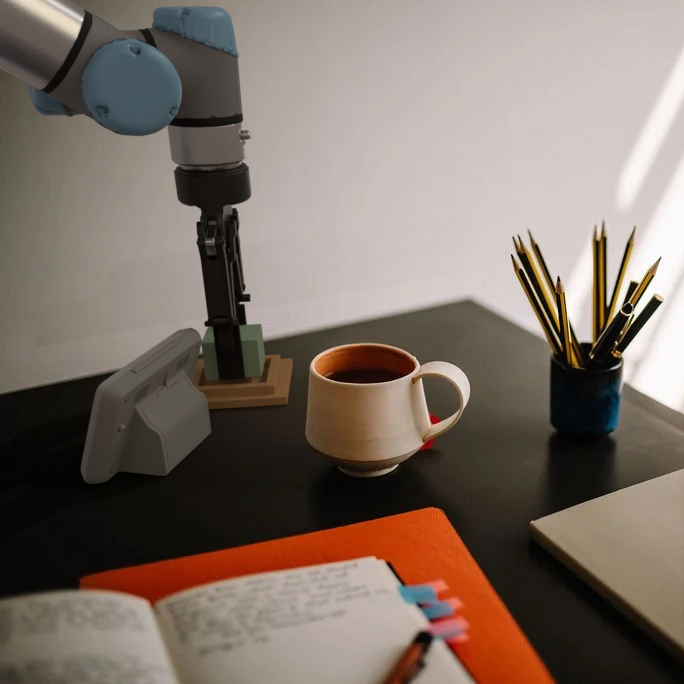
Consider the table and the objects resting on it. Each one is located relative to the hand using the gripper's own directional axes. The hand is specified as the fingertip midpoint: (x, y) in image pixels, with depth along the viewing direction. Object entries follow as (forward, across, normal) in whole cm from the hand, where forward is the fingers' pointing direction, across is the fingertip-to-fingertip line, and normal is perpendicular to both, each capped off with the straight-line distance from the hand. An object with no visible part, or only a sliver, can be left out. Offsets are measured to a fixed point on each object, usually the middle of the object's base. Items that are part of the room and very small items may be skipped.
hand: (235, 367), depth 103 cm
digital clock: (+3, -14, +7) cm, 16 cm away
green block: (0, 0, 0) cm, 0 cm away
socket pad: (+3, 0, 0) cm, 3 cm away
